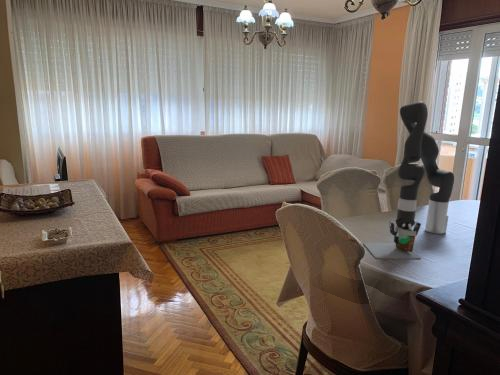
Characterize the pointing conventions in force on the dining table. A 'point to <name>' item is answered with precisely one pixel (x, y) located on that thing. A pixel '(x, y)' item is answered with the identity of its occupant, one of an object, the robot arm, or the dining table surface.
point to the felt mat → (389, 251)
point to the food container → (405, 239)
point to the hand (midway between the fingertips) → (402, 243)
